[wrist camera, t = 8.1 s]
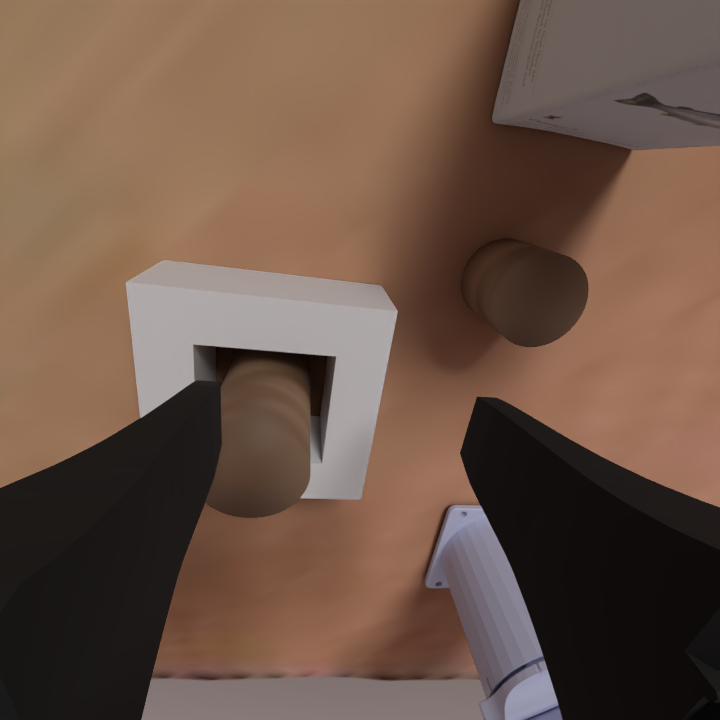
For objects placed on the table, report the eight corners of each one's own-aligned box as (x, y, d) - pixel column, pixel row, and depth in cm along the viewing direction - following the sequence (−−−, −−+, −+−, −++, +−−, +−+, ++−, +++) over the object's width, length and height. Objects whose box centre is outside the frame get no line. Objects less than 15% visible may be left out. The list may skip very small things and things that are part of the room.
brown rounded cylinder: (314, 337, 20) (316, 429, 13) (306, 404, 21) (304, 519, 14) (233, 329, 19) (187, 421, 12) (231, 398, 21) (190, 516, 14)
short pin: (548, 244, 19) (603, 260, 16) (523, 320, 21) (567, 350, 17) (473, 233, 19) (512, 247, 15) (452, 312, 20) (483, 342, 17)
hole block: (381, 285, 19) (397, 311, 15) (353, 449, 23) (360, 499, 20) (163, 259, 17) (125, 282, 14) (175, 441, 22) (148, 494, 18)
